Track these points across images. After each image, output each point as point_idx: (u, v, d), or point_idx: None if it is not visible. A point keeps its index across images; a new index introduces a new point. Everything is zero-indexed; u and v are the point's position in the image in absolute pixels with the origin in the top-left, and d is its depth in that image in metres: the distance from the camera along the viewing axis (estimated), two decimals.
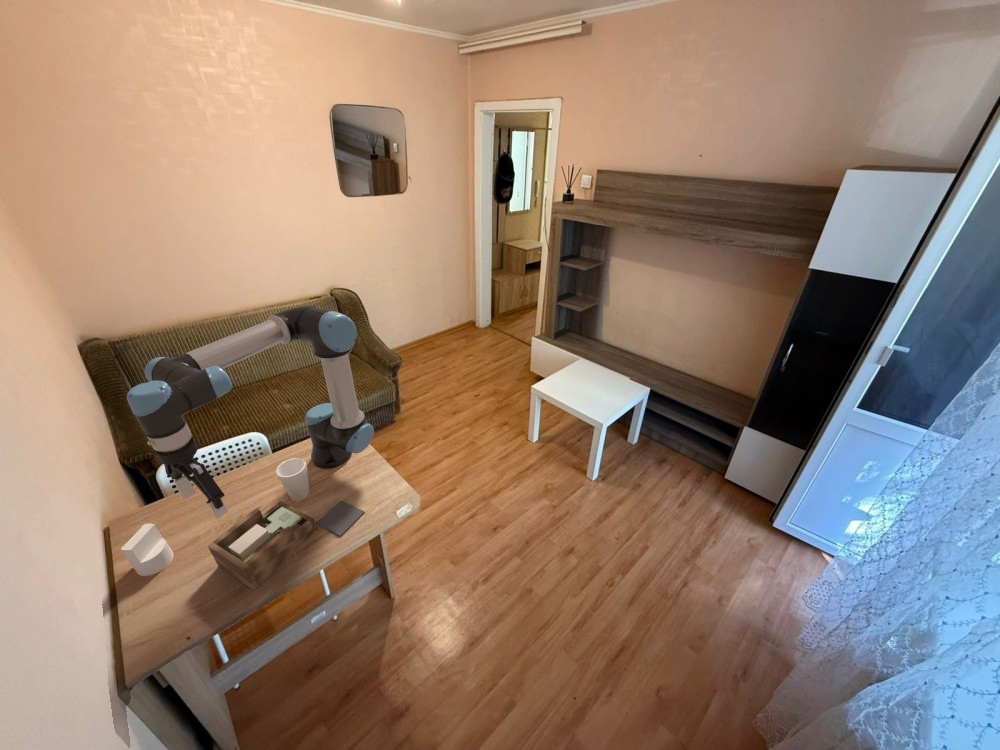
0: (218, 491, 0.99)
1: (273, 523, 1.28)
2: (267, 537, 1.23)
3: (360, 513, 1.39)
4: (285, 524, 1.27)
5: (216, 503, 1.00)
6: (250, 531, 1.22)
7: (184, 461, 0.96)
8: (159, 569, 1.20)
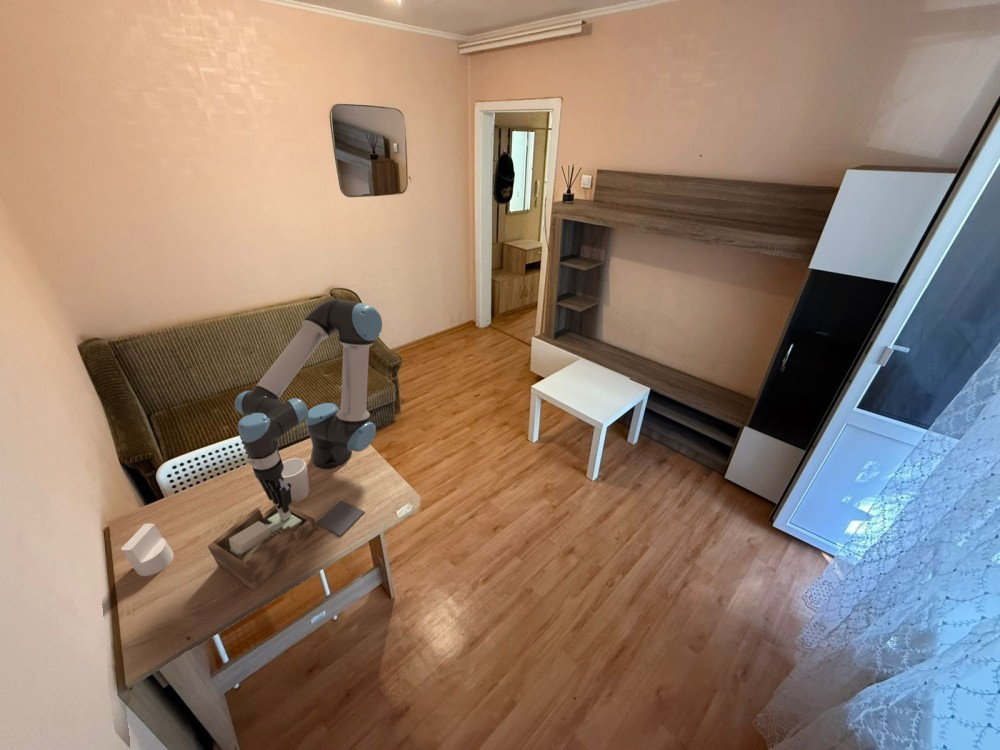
0: (289, 501, 1.25)
1: (273, 524, 1.28)
2: (267, 535, 1.22)
3: (360, 513, 1.39)
4: (286, 525, 1.28)
5: (284, 508, 1.27)
6: (252, 526, 1.22)
7: (275, 477, 1.18)
8: (158, 569, 1.20)
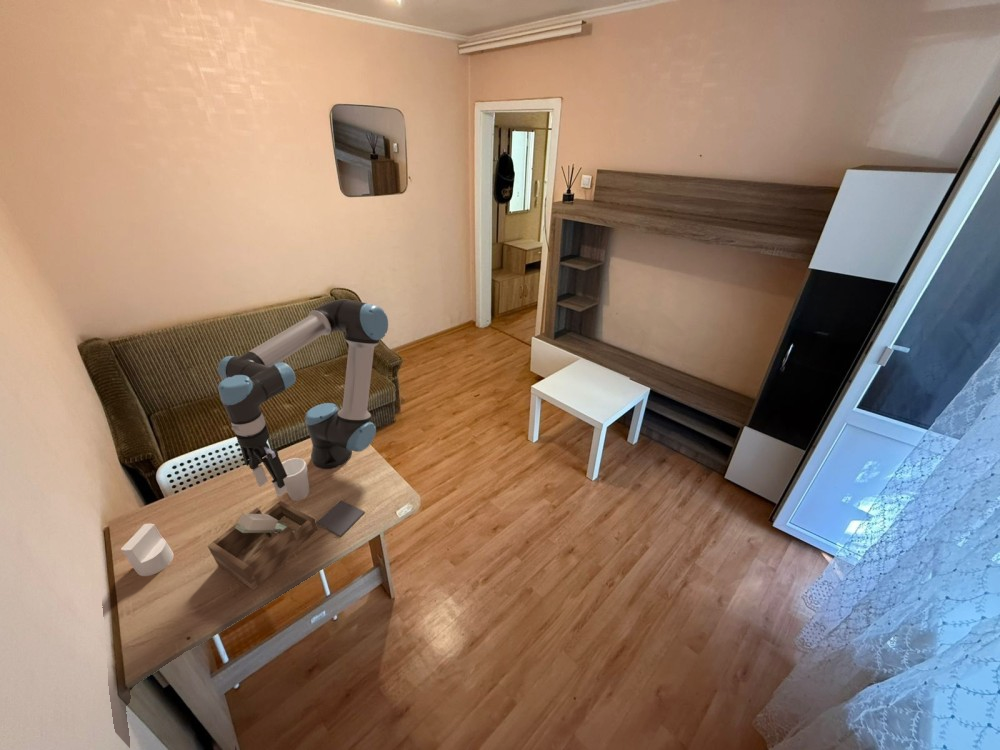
0: (283, 473, 1.16)
1: None
2: (272, 527, 1.23)
3: (360, 513, 1.39)
4: None
5: (280, 483, 1.18)
6: (262, 514, 1.24)
7: (260, 445, 1.11)
8: (158, 569, 1.20)
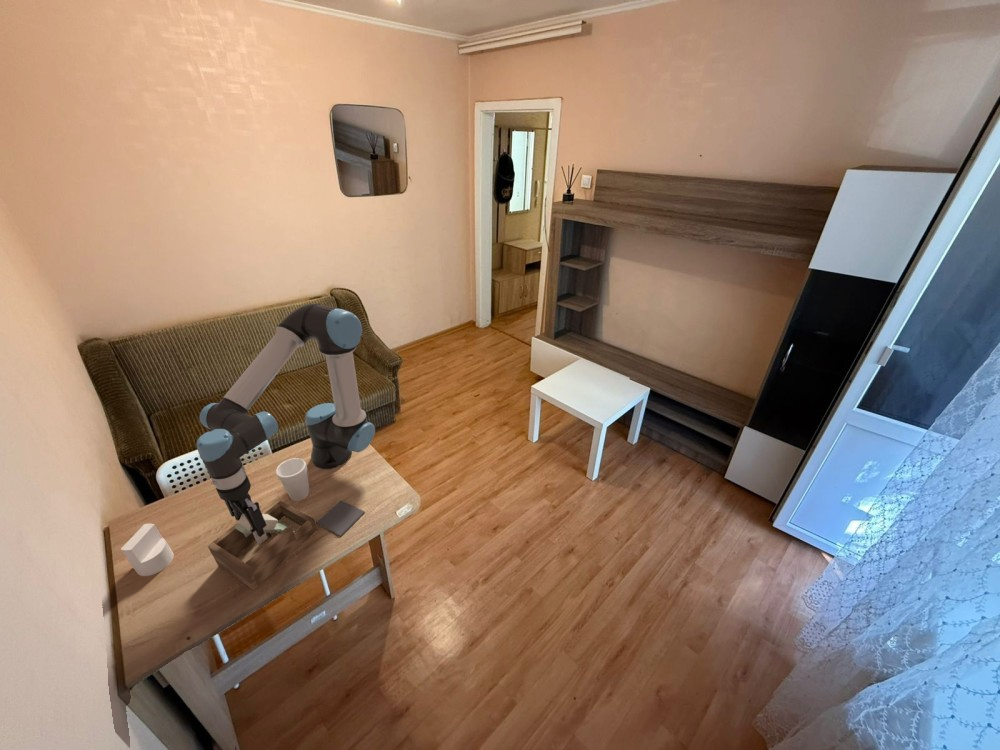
0: (263, 523, 1.15)
1: None
2: (272, 527, 1.23)
3: (360, 513, 1.39)
4: None
5: (259, 532, 1.17)
6: (262, 514, 1.24)
7: (241, 497, 1.10)
8: (158, 569, 1.20)
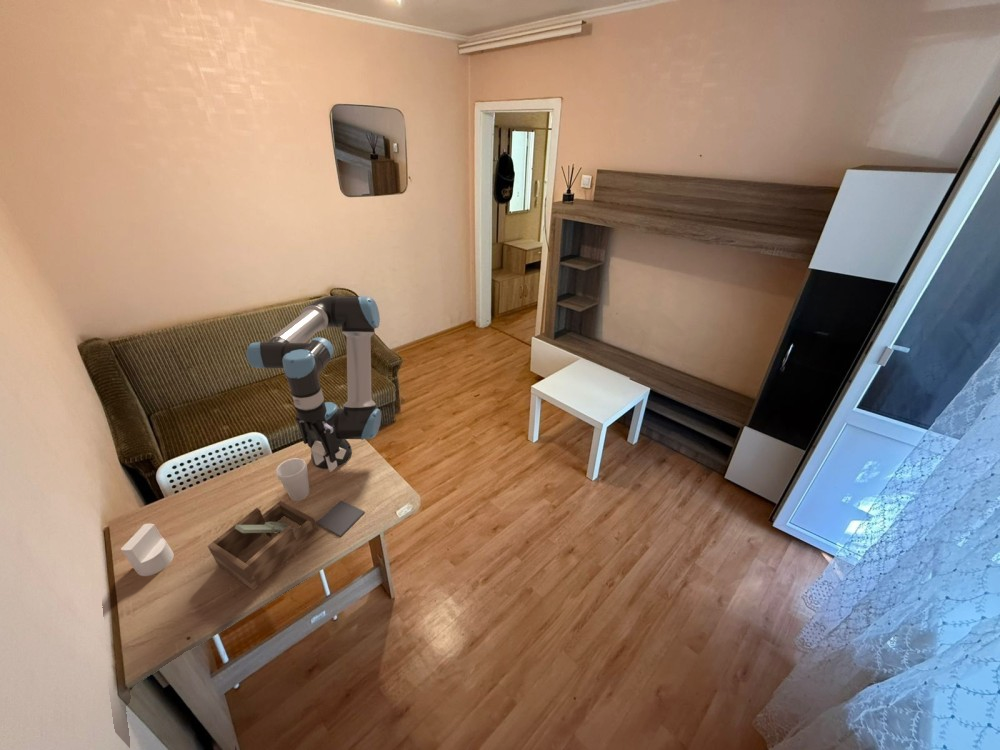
0: (337, 447, 1.19)
1: (274, 525, 1.28)
2: (341, 457, 1.27)
3: (360, 513, 1.39)
4: None
5: (332, 457, 1.21)
6: None
7: (319, 419, 1.13)
8: (158, 569, 1.20)
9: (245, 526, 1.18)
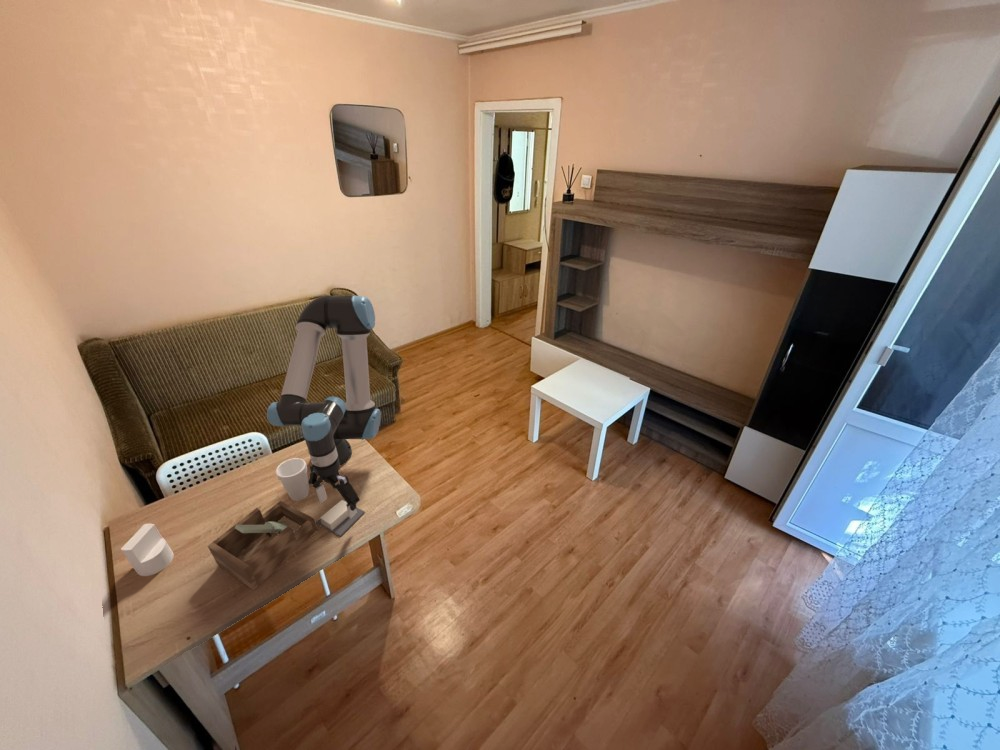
0: (356, 497, 1.27)
1: (274, 525, 1.28)
2: None
3: (360, 513, 1.39)
4: None
5: (353, 506, 1.29)
6: (337, 505, 1.38)
7: (333, 474, 1.24)
8: (158, 569, 1.20)
9: (245, 526, 1.18)
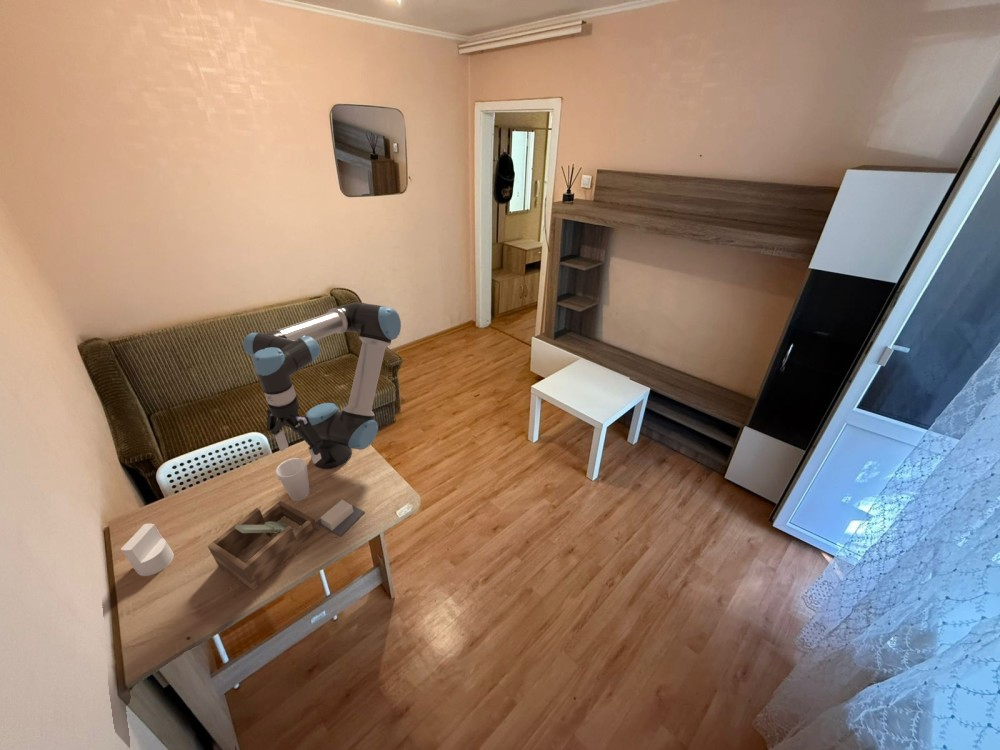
0: (318, 439, 1.20)
1: (274, 525, 1.28)
2: (351, 512, 1.39)
3: (360, 513, 1.39)
4: None
5: (316, 449, 1.22)
6: (337, 505, 1.38)
7: (292, 414, 1.17)
8: (158, 569, 1.20)
9: (245, 526, 1.18)
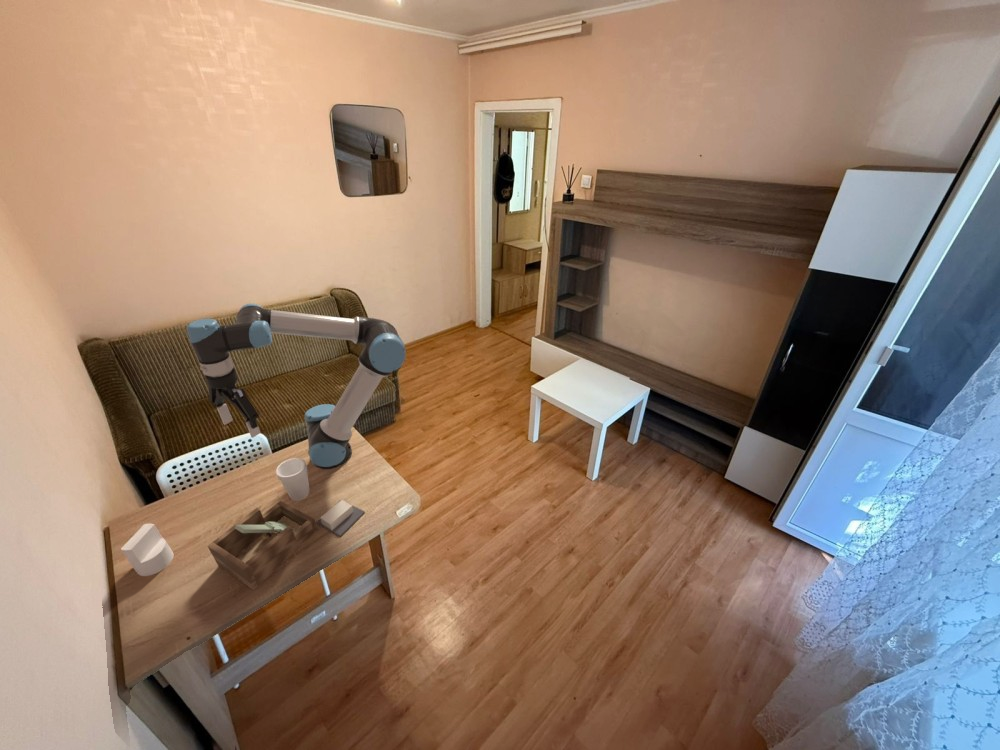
0: (254, 412, 1.22)
1: (274, 525, 1.28)
2: (351, 512, 1.39)
3: (360, 513, 1.39)
4: None
5: (252, 423, 1.23)
6: (337, 505, 1.38)
7: (228, 386, 1.18)
8: (158, 569, 1.20)
9: (245, 526, 1.18)
